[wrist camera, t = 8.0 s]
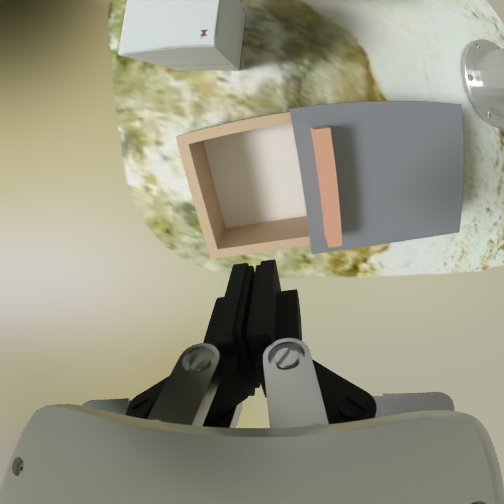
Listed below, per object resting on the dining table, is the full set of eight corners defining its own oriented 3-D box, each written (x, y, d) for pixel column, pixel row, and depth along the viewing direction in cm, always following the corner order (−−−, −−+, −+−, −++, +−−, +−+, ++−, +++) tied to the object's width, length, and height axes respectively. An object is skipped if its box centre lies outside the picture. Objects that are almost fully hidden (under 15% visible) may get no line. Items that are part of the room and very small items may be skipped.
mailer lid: (455, 103, 18) (475, 106, 15) (454, 228, 25) (470, 242, 22) (289, 108, 21) (291, 108, 18) (310, 249, 27) (314, 267, 24)
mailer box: (338, 105, 26) (352, 105, 21) (350, 215, 32) (364, 237, 27) (193, 130, 28) (175, 136, 23) (220, 234, 34) (210, 259, 29)
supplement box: (247, 13, 21) (229, -37, 10) (240, 72, 25) (216, 49, 14) (181, 15, 21) (130, -24, 10) (174, 71, 25) (115, 57, 14)
